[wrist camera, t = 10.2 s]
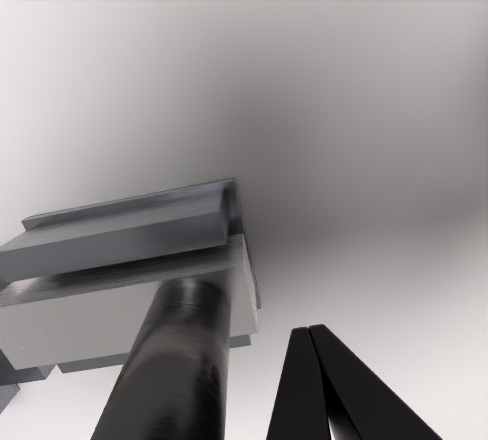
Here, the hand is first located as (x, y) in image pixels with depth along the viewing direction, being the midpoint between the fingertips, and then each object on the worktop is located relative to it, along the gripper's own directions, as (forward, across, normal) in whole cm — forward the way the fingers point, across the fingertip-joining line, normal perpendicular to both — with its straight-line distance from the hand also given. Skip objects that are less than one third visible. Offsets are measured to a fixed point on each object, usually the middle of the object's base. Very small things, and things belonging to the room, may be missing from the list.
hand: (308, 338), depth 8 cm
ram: (+4, +8, 0) cm, 9 cm away
